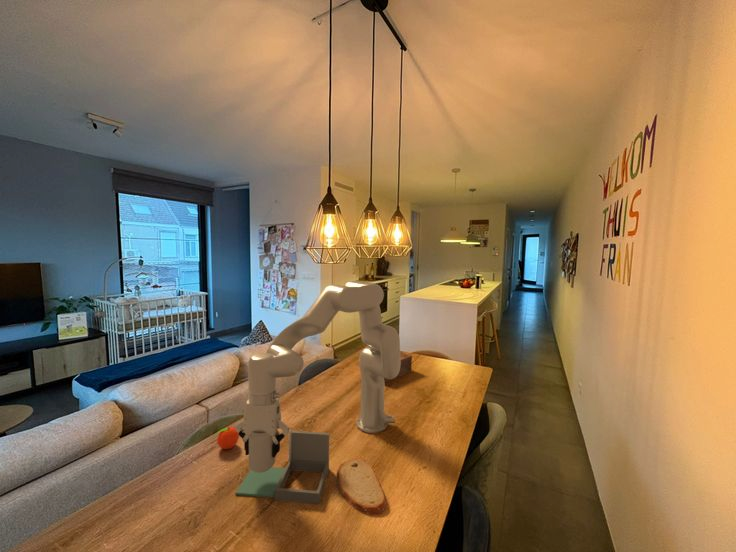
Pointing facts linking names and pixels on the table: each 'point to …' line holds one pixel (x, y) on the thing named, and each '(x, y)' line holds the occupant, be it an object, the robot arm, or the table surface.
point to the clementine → (227, 437)
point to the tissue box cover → (403, 365)
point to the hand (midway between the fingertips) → (262, 452)
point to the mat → (261, 483)
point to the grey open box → (305, 464)
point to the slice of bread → (361, 487)
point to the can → (260, 452)
